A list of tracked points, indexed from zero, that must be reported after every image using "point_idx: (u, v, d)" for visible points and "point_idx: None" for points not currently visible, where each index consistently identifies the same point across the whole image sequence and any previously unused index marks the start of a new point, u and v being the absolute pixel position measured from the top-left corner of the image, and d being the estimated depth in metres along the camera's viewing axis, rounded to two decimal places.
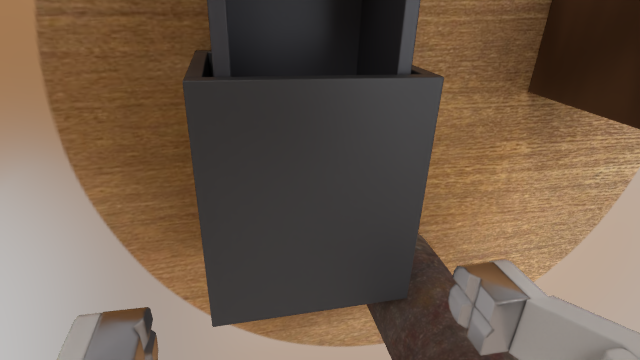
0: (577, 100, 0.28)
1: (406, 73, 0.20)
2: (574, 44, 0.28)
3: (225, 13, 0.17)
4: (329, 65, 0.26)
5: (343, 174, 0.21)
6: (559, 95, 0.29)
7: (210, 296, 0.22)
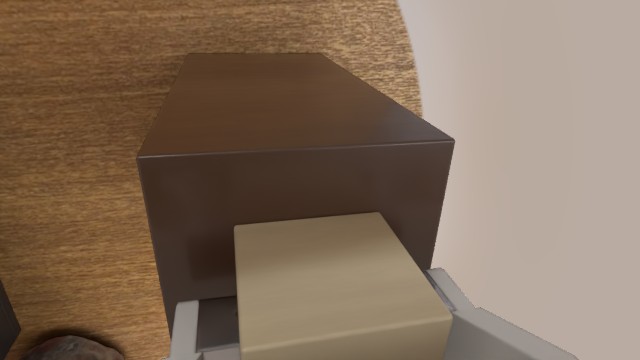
0: None
1: None
2: None
3: None
4: None
5: None
6: None
7: None
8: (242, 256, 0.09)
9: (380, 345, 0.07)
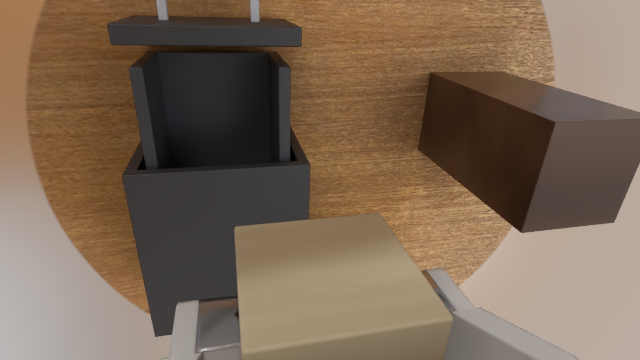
0: (442, 163, 0.36)
1: (286, 160, 0.29)
2: (440, 121, 0.36)
3: (151, 130, 0.26)
4: (248, 140, 0.34)
5: None
6: (434, 157, 0.38)
7: (151, 315, 0.31)
8: (242, 257, 0.09)
9: (380, 346, 0.07)
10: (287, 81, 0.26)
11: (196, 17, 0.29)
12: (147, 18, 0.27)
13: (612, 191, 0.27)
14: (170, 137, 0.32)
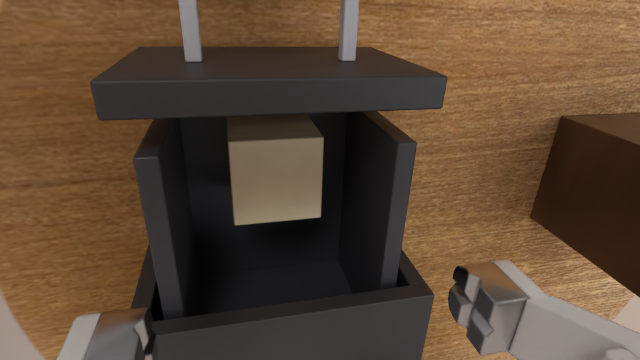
0: (585, 249, 0.25)
1: (391, 282, 0.17)
2: (581, 188, 0.25)
3: (173, 257, 0.14)
4: (309, 224, 0.23)
5: None
6: (565, 236, 0.27)
7: None
8: (230, 122, 0.18)
9: (290, 148, 0.16)
10: (409, 165, 0.15)
11: (240, 48, 0.18)
12: (164, 56, 0.15)
13: None
14: (195, 227, 0.21)
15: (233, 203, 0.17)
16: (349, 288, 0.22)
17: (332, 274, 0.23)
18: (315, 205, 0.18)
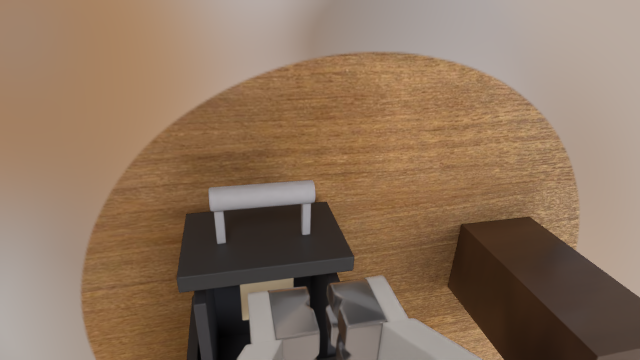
0: (474, 316, 0.38)
1: (333, 353, 0.30)
2: (472, 275, 0.38)
3: (210, 347, 0.27)
4: None
5: None
6: (465, 304, 0.39)
7: None
8: None
9: (274, 280, 0.29)
10: None
11: (245, 213, 0.31)
12: (204, 233, 0.28)
13: None
14: (217, 310, 0.34)
15: (242, 309, 0.29)
16: None
17: None
18: None
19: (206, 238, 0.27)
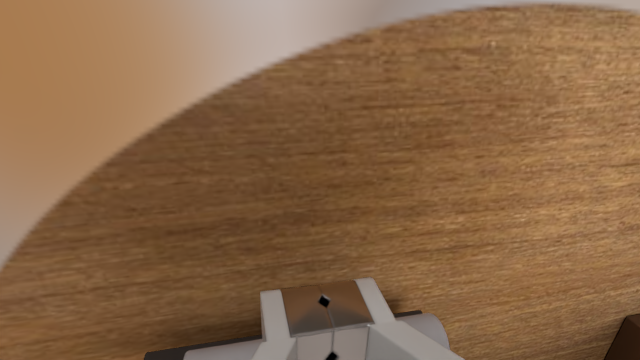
0: None
1: None
2: None
3: None
4: None
5: None
6: None
7: None
8: None
9: None
10: None
11: None
12: None
13: None
14: None
15: None
16: None
17: None
18: None
19: None
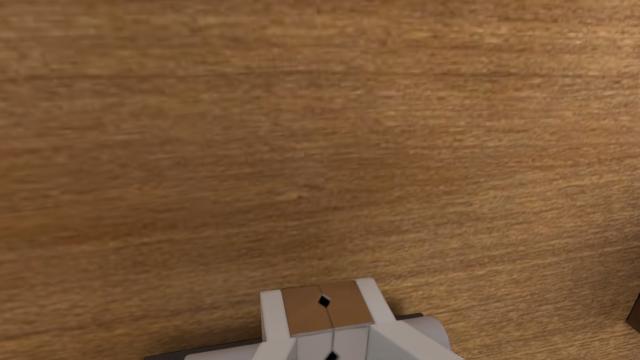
0: None
1: None
2: None
3: None
4: None
5: None
6: None
7: None
8: None
9: None
10: None
11: None
12: None
13: None
14: None
15: None
16: None
17: None
18: None
19: None
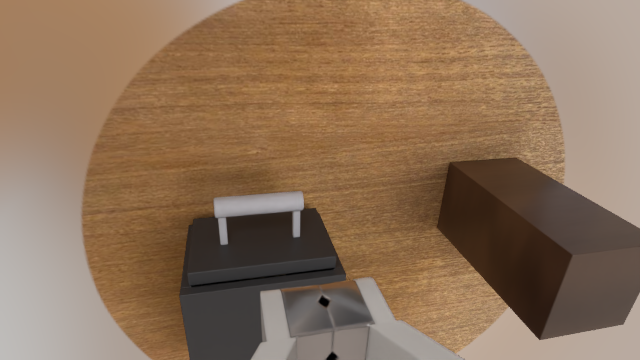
0: (461, 249, 0.39)
1: None
2: (459, 210, 0.39)
3: None
4: None
5: None
6: (453, 240, 0.40)
7: None
8: None
9: (269, 276, 0.34)
10: None
11: (245, 218, 0.35)
12: (209, 235, 0.33)
13: (622, 301, 0.30)
14: None
15: None
16: None
17: None
18: None
19: (211, 240, 0.32)
